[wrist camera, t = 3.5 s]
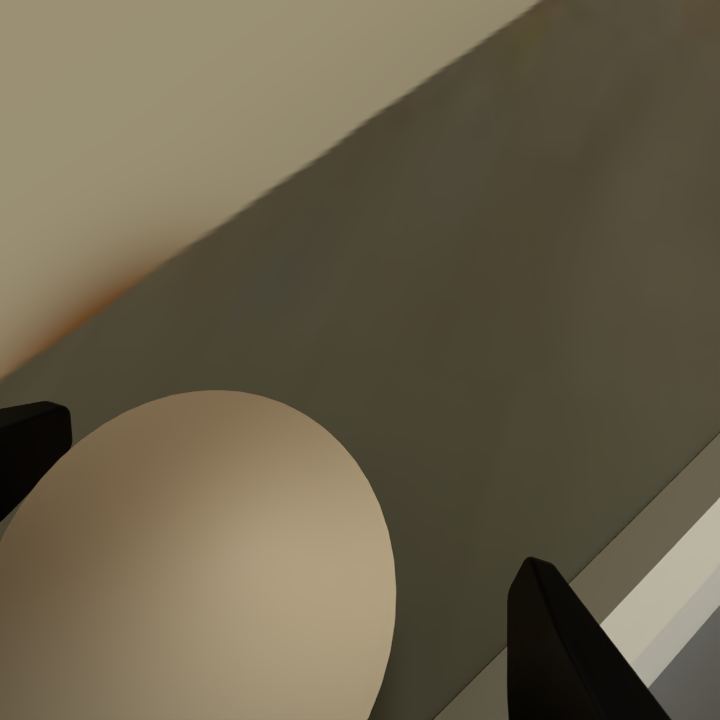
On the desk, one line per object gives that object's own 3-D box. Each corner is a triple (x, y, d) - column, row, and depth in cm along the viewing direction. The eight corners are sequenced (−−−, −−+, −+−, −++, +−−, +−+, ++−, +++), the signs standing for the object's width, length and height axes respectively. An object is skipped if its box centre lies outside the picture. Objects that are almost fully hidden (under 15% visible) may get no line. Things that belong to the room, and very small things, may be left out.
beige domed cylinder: (397, 562, 14) (482, 634, 4) (283, 660, 13) (75, 1030, 3) (319, 453, 15) (256, 327, 6) (211, 533, 14) (-85, 542, 5)
